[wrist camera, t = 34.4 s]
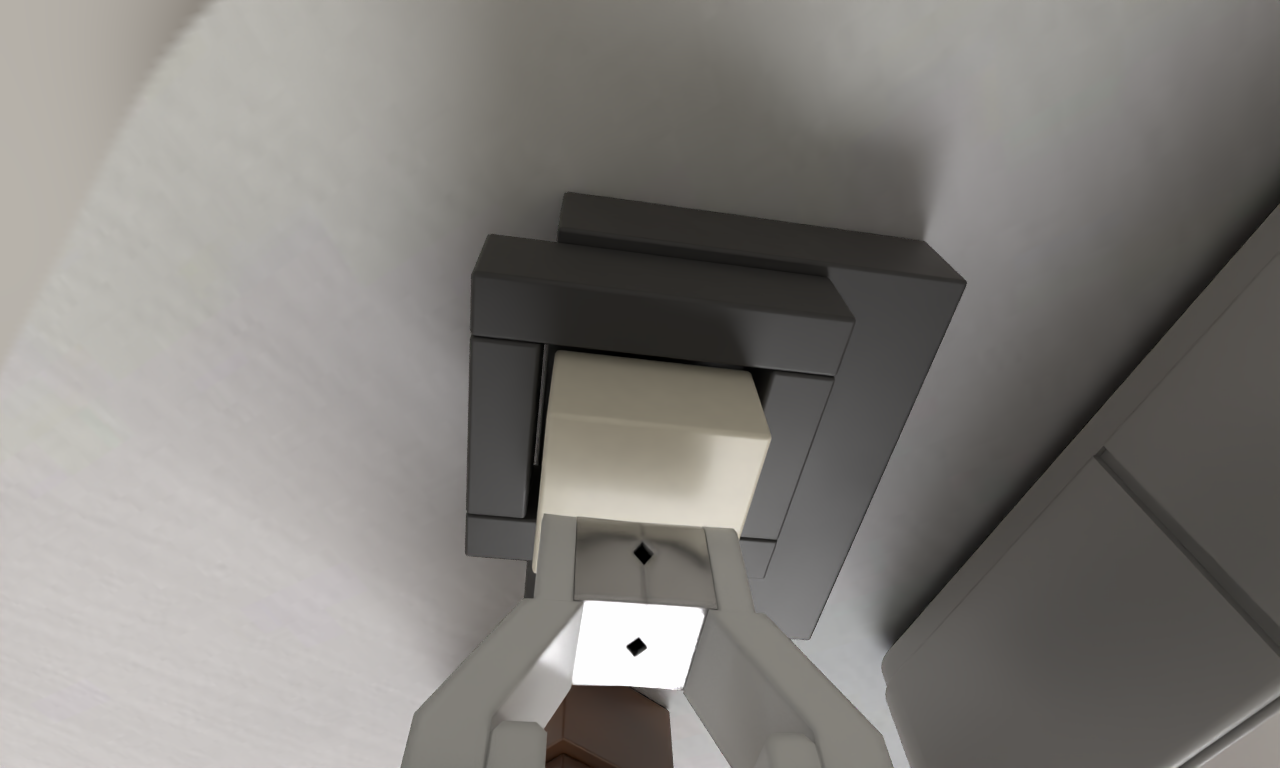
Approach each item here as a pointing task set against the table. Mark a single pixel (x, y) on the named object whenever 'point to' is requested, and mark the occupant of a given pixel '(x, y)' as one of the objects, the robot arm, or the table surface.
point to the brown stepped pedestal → (608, 730)
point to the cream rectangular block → (650, 442)
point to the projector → (1127, 572)
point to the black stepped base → (712, 365)
